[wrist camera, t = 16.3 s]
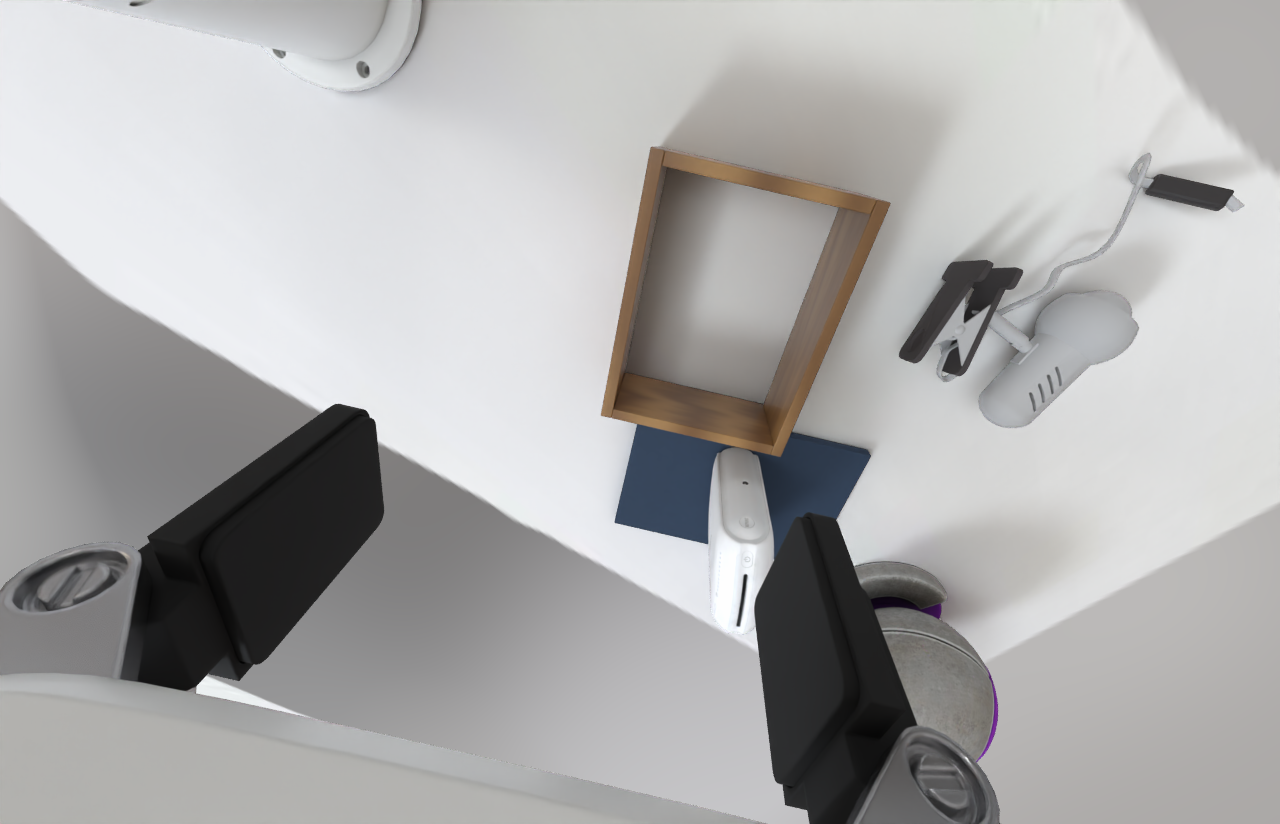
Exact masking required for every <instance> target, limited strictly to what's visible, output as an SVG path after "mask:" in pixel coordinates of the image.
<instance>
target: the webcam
mask: <svg viewBox="0 0 1280 824" xmlns="http://www.w3.org/2000/svg"><path fill="white" fill-rule="evenodd" d="M854 569H855V571H856V574H857V577H858V580H859V582H860V585H861V587H862V588H863V589H864V590H865V591H866V592H867V594H868V596H869V598H870V600H871V603H872V605H873V608H874V611H875V613H876V616H877V618H878V621H879V624H880V626H881V629H882V632H883V634H884V637H885V640H886V642H887V645H888V648H889V650H890V653H891V656H892V658H893V661H894V664H895V666H896V669H897V672H898V674H899V677H900V679H901V682H902V685H903V687H904V690H905V693H906V695H907V698H908V701H909V703H910V706H911V709H912V711H913V714H914V717H915V719H916V722H917V725H918V726H924V727H930V728H932V729H935V730H937V731H939V732H941V733H944V734H945V735H947V736H948V737H950V738H951V739H952V740H954V741H955V742H957V743H958V744H959V745H960V746H961V747H962V748H963V749H964V750H965V751H967V752H968V753H969V754H970V755H971V756H972V757H973V758H974V760H975V761H976V762H977V761H978V760H979V759H980V758H981V757H982V756H983V755H984V754H985V752H986V751H987V750H988V748H989V746H990V744H991V742H992V740H993V737H994V735H995V731H996V726H997V721H998V704H997V703H998V702H997V696H996V691H995V687H994V684H993V681H992V678H991V675H990V673H989V671H988V669H987V667H986V666H985V664H984V663H983V661H982V660H981V658H980V657H979V655H978V654H977V652H976V651H975V650H974V648H973V647H972V646H971V645H970V644H969V643H968V641H967V640H966V639H965V638H964V637H963V636H961V635H960V634H959V633H958V632H957V631H956V630H954V629H953V628H952V627H950V626H949V625H947V624H946V623H944V622H943V621H941V620H939V618H940V614H941V603H943V602H945V601H947V595H946V592H945V590H944V588H943V586H942V585H941V584H940V583H939V581H938V580H937V579H936V578H935V577H933V576H932V575H931V574H929V573H928V572H926V571H924V570H922V569H920V568H917V567H915V566H911V565H907V564H902V563H893V562H880V563H870V564H865V565H861V566H857V567H854Z"/></svg>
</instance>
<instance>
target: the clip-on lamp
mask: <svg viewBox="0 0 1280 824" xmlns="http://www.w3.org/2000/svg"><path fill="white" fill-rule="evenodd" d="M1151 157H1152V156H1151V155H1150V153H1147V154H1145V155H1143V156H1141V157H1140V158H1139V159H1138V161H1137V162H1136V163H1135V164H1134V166H1133V167H1132V169H1131V171H1130V174H1129V177H1130V180H1131V182H1133V183H1134V184H1135V185H1134V188H1133V190H1132V193H1131V195H1130V198H1129V200H1128V203H1127V205H1126V208H1125V210H1124V212H1123V215H1122V217H1121V219H1120V221H1119V223H1118V225H1117V227H1116V229H1115V231H1114V233H1113V234H1112V236H1111V237H1110V239H1109V240H1108V241H1107V243H1106V244H1105V245H1104V246H1103V247H1102V248H1100V249H1099V250H1098V251H1097V252H1095V253H1093V254H1091V255H1089V256H1087V257H1084V258H1081V259H1078V260H1074V261H1071V262H1068V263H1065V264H1062V265H1060V266H1058V267H1056V268H1055V269H1054V270H1053V271H1052V273H1051V275H1050V278H1049V281H1048V283H1047V284H1046V286H1045V287H1044V288H1043V289H1042V290H1041V291H1039V292H1037V293H1035V294H1033V295H1031V296H1029V297H1027V298H1024V299H1022V300H1019V301H1017V302H1015V303H1012V304H1010V305H1008V306H1006V307H1004V308H1002V309H1000V310H998V311H997V312H996V311H995V310H996V308H997V306H998V304H999V302H1000V299H1001V297H1002V295H1003V293H1004V291H1005V290H1011V289H1014V288H1015V287H1016V285H1017V284H1018V282H1019V280H1020V278H1021V276H1022V274H1023V270H1022V269H1019V268H992V267H993V263H992V262H990V261H988V260H978V261H962V262H953V263H951V264H950V265H949V266H948V268H947V270H946V271H945V273H944V275H943V277H942V279H943V280H945V281H946V282H945V284H944V285H943V287H942V288H941V290H940V291H939V293H938V294H937V296H936V297H935V299H934V300H933V302H932V303H931V305H930V306H929V308H928V309H927V311H926V312H925V314H924V315H923V317H922V318H921V320H920V321H919V323H918V324H917V326H916V327H915V329H914V330H913V332H912V333H911V335H910V336H909V338H908V339H907V341H906V342H905V344H904V345H903V347H902V348H901V350H900V352H899V357H900V358H901V359H904V360H906V361H909V362H912V363H918V362H919V361H921V359H922V358H923V357H924V356H925V354H926V353H927V351H928V350H929V348H930V347H932V346H934V345H936V344H938V343H939V344H940V350H941V358H940V360H939V362H938V365H937V375H938V377H939V378H940V379H941V380H942V381H943V382H949V381H951V380H953V379H954V378H955V377H957V376H961V375H963V374H964V373H965V372H966V371H967V369H968V367H969V365H970V363H971V361H972V359H973V357H974V354H975V352H976V350H977V348H978V346H979V344H980V342H981V340H982V338H983V335H984V333H985V331H986V329H987V327H988V326H989V327H990V328H991V329H993V330H994V331H995V332H996V333H998V334H999V335H1000V336H1002V337H1003V338H1004V339H1005V340H1007V341H1008V342H1009V343H1010V344H1011V345H1012V346H1014V347H1015V348H1016V349H1017V350H1019V352H1018V353H1017V354H1016V355H1015V356H1014V357H1013V358H1012V359H1011V360H1010V363H1009V364H1008V365H1007V366H1006V367H1005V368H1004V369H1003V370H1002V371H1001V372H1000V373H999V375H998V376H997V377H996V378H995V379H994V380H993V381H992V382H991V383H990V384H989V385H988V386H987V387H986V388H985V389H984V391H983V392H982V393H981V394H980V396H979V407H980V410H981V412H982V414H983V415H984V416H985V418H987V419H988V420H989V421H990V422H992V423H993V424H996V425H998V426H1001V427H1007V428H1018V427H1023V426H1026V425H1028V424H1030V423H1031V422H1032V421H1033V420H1034V419H1035V418H1036V417H1037V416H1038V415H1039V414H1040V413H1041V412H1042V411H1043V410H1044V409H1046V408H1047V407H1048V406H1049V405H1050V404H1051V403H1052V402H1053V401H1054V400H1055V399H1056V398H1057V397H1058V396H1059V395H1060V394H1061V393H1062V392H1063V391H1064V390H1065V389H1066V388H1067V387H1068V386H1069V385H1071V384H1072V383H1073V382H1074V381H1075V380H1076V379H1077V378H1078V377H1079V376H1080V375H1081V374H1082V373H1083V372H1084V371H1085V370H1086V369H1087V368H1088V367H1089V366H1090V365H1095V364H1099V363H1102V362H1105V361H1108V360H1110V359H1113V358H1115V357H1116V356H1118V355H1120V354H1121V353H1122V352H1124V351H1125V350H1126V349H1127V348H1128V347H1129V346H1130V345H1131V343H1132V342H1133V340H1134V339H1135V337H1136V335H1137V332H1138V329H1139V327H1138V324H1137V322H1136V321H1135V320H1134V319H1133V318H1132V309H1131V306H1130V304H1129V302H1128V301H1127V300H1126V299H1125V298H1124V297H1123V296H1121V295H1120V294H1118V293H1115V292H1111V291H1105V290H1099V291H1091V292H1087V293H1084V294H1078V293H1067V294H1064V295H1062V296H1060V297H1059V298H1057V299H1055V300H1054V301H1053V302H1051V303H1050V304H1049V305H1047V306H1046V307H1045V308H1044V309H1043V311H1042V312H1041V313H1040V315H1039V317H1038V318H1037V321H1036V324H1035V336H1034V337H1033V338H1032V339H1031V340H1030V341H1029V337H1027V336H1026V335H1025V334H1024V333H1022V332H1021V331H1020V330H1019V329H1017V328H1016V327H1015V326H1014V325H1012V324H1011V323H1010V322H1008V321H1007V320H1006V319H1005V318H1003V317H1002V316H1001V315H1003V314H1005V313H1007V312H1009V311H1011V310H1013V309H1015V308H1017V307H1020V306H1022V305H1025V304H1027V303H1029V302H1032V301H1034V300H1036V299H1038V298H1040V297H1042V296H1044V295H1046V294H1047V293H1048V292H1049V291H1051V290H1052V289H1053V288H1054V286H1055V284H1056V282H1057V280H1058V277H1059V275H1060V273H1061V271H1062V270H1063V269H1064V268H1066V267H1068V266H1071V265H1075V264H1078V263H1082V262H1086V261H1089V260H1091V259H1094V258H1096V257H1098V256H1099V255H1101V254H1103V253H1104V252H1105V251H1106V250H1107V249H1108V248H1109V247H1110V246H1111V245H1112V244H1113V242H1114V241H1115V239H1116V238H1117V236H1118V235H1119V233H1120V231H1121V229H1122V227H1123V225H1124V223H1125V221H1126V219H1127V217H1128V215H1129V212H1130V210H1131V208H1132V206H1133V203H1134V201H1135V198H1136V196H1137V194H1138V191H1139V189H1140V186H1141V187H1145V188H1147V190H1146V192H1145V194H1147V195H1151V196H1155V197H1159V198H1163V199H1168V200H1172V201H1176V202H1180V203H1184V204H1189V205H1193V206H1197V207H1201V208H1205V209H1209V210H1214V211H1219V210H1220V209H1222V208H1223V207H1224V206H1226V207H1227V208H1228V209H1229V210H1231V211H1232V212H1235V211H1237V210H1239V209H1240V208H1242V207H1243V206H1244V205H1243V204H1242V203H1241V202H1240V201H1239V200H1238V199H1237V198H1236V197H1235V196H1233V193H1234V191H1233V190H1230V189H1225V188H1221V187H1216V186H1212V185H1207V184H1203V183H1199V182H1194V181H1190V180H1185V179H1181V178H1176V177H1172V176H1167V175H1163V174H1159V175H1157V176H1156V177H1155V178H1154V179H1151V178H1147V177H1145V174H1146V172H1147V169H1148V167H1149V164H1150V161H1151ZM1142 162H1143V165H1142V168H1141V170H1140V173H1138V170H1137V167H1138V166H1139V164H1140V163H1142ZM971 287H972V288H974V290H973V292H972V295H971V297H970V299H969V301H968V304H966V305H965V296H966V294H967V293H968V291H969V290H970V288H971ZM942 371H944V372H947V373H950V374H948V375H946V376H942Z"/></svg>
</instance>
